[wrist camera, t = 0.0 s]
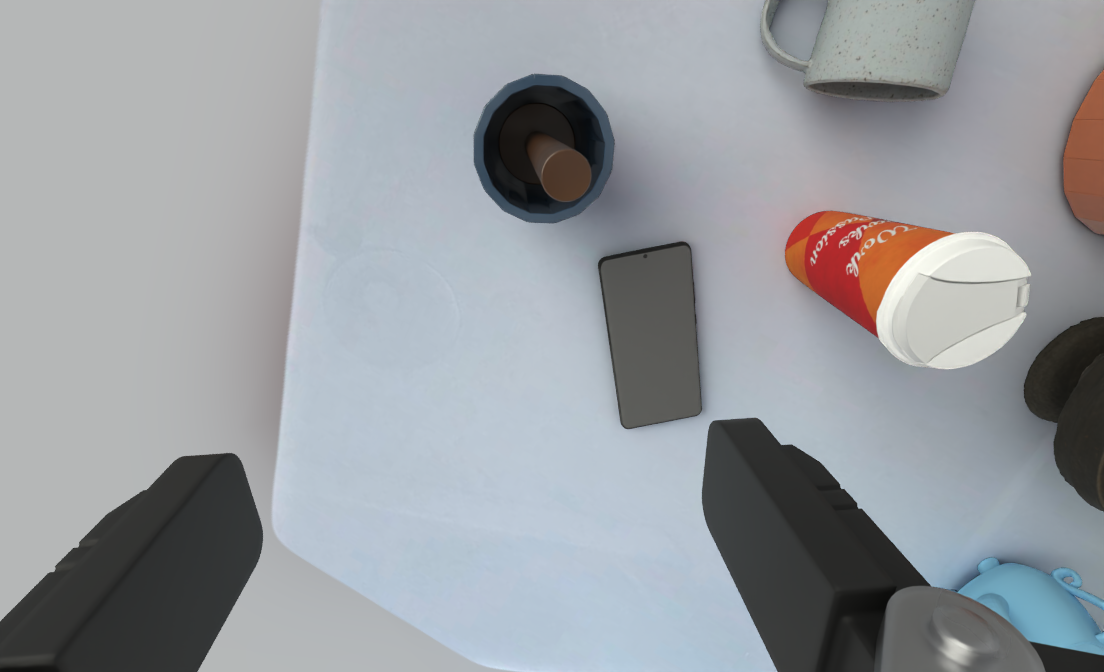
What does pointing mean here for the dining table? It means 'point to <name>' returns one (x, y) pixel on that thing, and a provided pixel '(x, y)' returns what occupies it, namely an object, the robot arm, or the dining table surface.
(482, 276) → the dining table surface
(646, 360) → the smartphone
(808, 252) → the paper cup
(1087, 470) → the pot
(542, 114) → the brown wooden plunger
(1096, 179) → the mixing bowl
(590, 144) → the crock
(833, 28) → the ceramic mug
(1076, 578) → the blue sugar bowl
